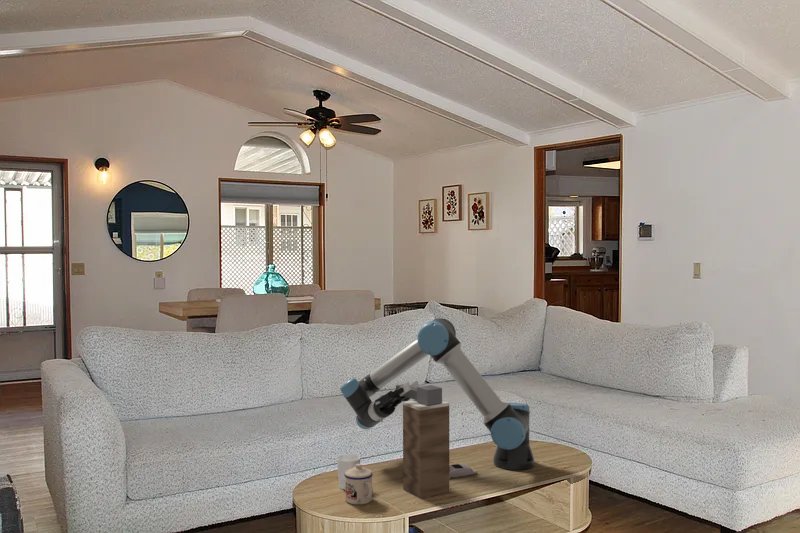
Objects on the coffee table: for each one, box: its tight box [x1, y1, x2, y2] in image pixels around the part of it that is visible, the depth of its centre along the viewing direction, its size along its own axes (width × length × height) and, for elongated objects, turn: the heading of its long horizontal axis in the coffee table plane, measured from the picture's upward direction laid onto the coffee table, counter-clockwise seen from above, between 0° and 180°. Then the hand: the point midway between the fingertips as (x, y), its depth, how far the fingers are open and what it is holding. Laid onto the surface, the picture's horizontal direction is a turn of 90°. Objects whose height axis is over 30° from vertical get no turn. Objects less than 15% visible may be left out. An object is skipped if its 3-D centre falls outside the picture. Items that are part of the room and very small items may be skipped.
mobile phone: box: [449, 463, 478, 479], centre depth 248 cm, size 6×6×25 cm
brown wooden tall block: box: [402, 399, 450, 500], centre depth 233 cm, size 10×12×30 cm
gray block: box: [395, 383, 443, 405], centre depth 237 cm, size 21×6×5 cm, turn 34°
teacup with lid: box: [344, 463, 374, 506], centre depth 224 cm, size 12×9×12 cm
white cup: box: [336, 454, 361, 491], centre depth 238 cm, size 8×8×10 cm
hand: (413, 385), depth 239 cm, fingers closed on gray block, 3 cm apart
